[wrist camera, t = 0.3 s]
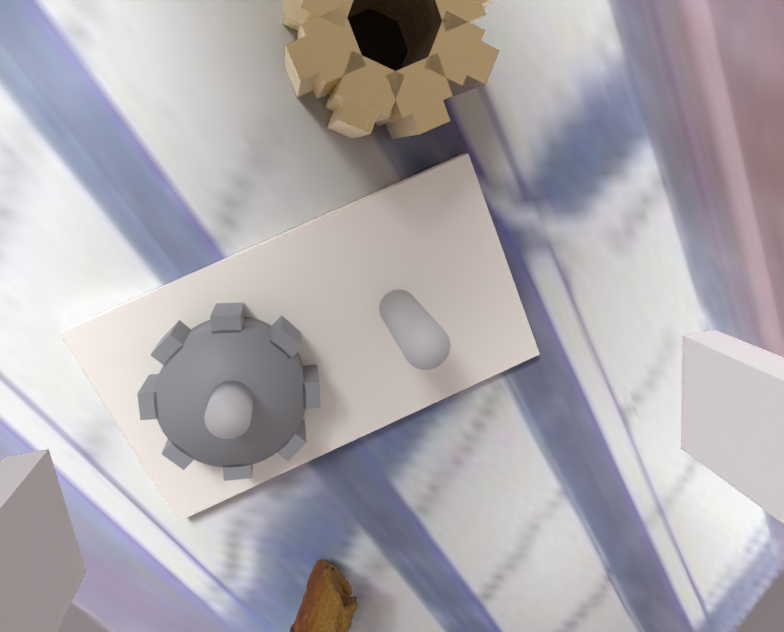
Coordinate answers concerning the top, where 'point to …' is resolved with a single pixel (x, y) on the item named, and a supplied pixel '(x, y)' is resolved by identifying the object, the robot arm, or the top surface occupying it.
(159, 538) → the top surface
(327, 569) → the rock
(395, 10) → the brass gear
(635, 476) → the top surface
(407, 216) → the gear board
